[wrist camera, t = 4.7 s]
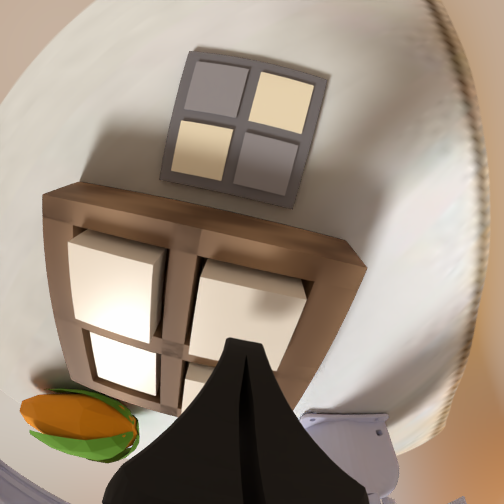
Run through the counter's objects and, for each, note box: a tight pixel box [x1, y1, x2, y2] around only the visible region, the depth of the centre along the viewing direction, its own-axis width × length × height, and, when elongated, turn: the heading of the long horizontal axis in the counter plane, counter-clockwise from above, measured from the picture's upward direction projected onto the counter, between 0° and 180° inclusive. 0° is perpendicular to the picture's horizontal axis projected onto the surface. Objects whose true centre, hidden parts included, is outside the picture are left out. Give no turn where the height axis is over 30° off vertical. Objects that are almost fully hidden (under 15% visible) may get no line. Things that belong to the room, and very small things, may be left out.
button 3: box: [90, 331, 161, 396], centre depth 16 cm, size 4×4×2 cm
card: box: [160, 51, 327, 209], centre depth 12 cm, size 7×7×1 cm
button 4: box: [68, 229, 167, 343], centre depth 12 cm, size 4×4×2 cm
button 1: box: [181, 362, 215, 414], centre depth 15 cm, size 4×4×2 cm
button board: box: [42, 182, 367, 417], centre depth 15 cm, size 16×14×4 cm
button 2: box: [189, 258, 307, 371], centre depth 13 cm, size 4×4×2 cm
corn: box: [20, 388, 140, 463], centre depth 19 cm, size 7×8×20 cm
